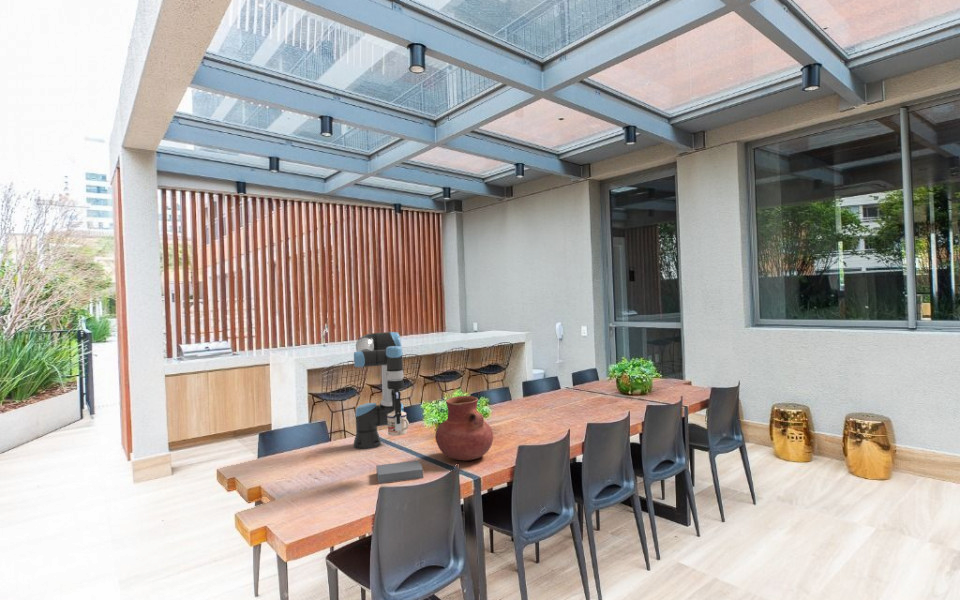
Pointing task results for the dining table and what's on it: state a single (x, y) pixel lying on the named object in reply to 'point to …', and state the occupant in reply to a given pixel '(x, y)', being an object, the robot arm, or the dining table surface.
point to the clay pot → (464, 430)
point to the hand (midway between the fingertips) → (397, 428)
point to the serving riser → (399, 471)
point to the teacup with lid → (392, 424)
